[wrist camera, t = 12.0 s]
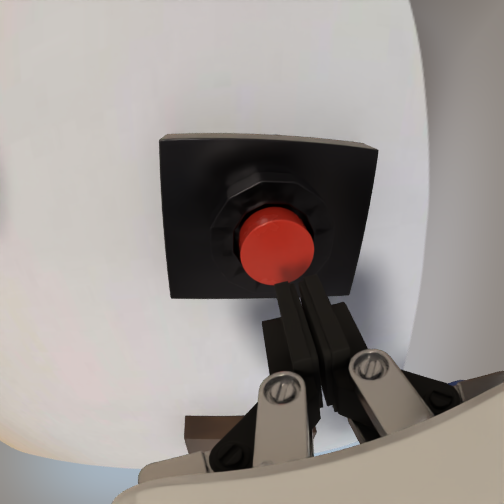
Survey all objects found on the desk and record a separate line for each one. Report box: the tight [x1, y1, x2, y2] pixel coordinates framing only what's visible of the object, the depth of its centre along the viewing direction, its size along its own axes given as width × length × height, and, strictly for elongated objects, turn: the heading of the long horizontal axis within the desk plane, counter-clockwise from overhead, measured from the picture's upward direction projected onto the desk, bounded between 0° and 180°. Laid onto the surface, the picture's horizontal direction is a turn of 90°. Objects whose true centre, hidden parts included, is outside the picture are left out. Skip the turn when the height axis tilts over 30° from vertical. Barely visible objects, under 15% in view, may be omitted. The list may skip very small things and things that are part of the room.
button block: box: [159, 133, 378, 299], centre depth 18 cm, size 12×10×4 cm
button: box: [239, 207, 314, 285], centre depth 16 cm, size 4×4×2 cm
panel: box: [184, 416, 317, 454], centre depth 32 cm, size 14×10×3 cm
